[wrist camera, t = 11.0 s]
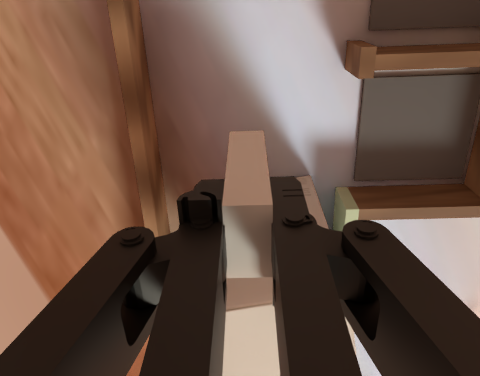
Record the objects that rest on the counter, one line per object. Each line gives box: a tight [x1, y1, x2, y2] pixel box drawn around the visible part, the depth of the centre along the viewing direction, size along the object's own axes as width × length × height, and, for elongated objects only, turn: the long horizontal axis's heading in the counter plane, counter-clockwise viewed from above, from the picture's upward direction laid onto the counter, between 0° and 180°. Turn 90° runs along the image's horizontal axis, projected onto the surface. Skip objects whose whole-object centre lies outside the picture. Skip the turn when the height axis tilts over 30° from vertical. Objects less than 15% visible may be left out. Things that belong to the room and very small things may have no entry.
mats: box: [354, 0, 480, 181], centre depth 29 cm, size 21×9×1 cm, turn 2°
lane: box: [107, 0, 480, 237], centre depth 28 cm, size 42×28×4 cm
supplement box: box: [222, 175, 356, 376], centre depth 29 cm, size 9×9×15 cm
